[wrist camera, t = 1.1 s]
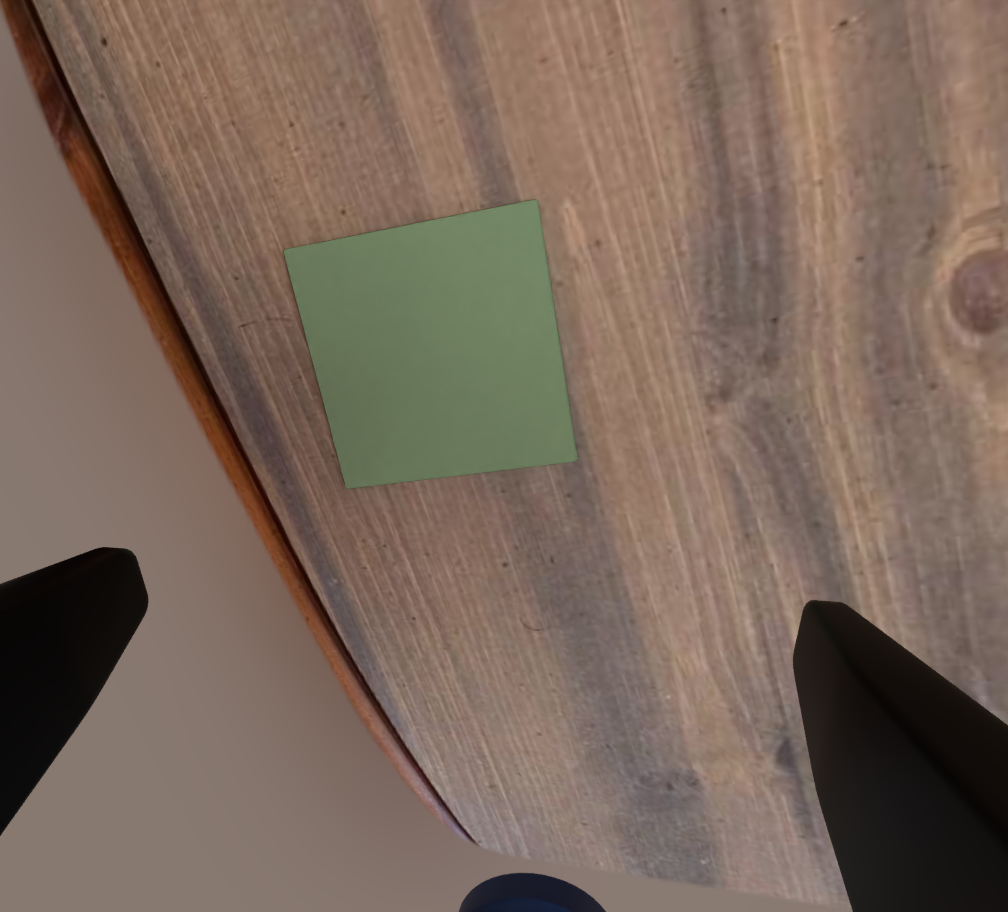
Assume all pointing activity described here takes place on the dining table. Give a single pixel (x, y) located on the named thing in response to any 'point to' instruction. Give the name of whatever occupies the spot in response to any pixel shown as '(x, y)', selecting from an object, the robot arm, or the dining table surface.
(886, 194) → the dining table surface
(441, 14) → the dining table surface
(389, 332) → the coaster
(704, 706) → the dining table surface
